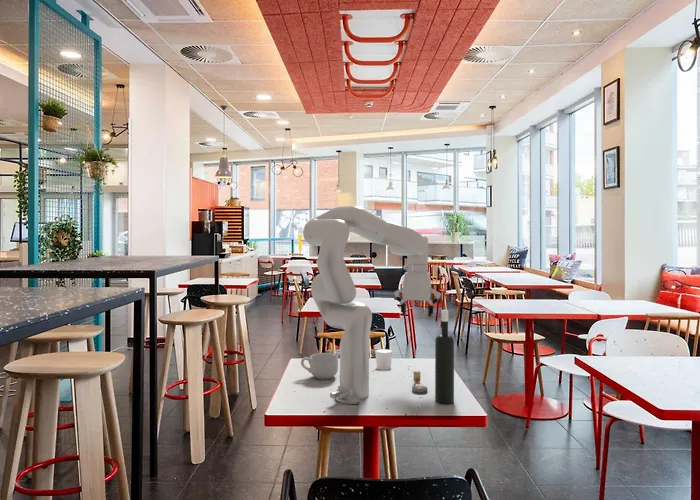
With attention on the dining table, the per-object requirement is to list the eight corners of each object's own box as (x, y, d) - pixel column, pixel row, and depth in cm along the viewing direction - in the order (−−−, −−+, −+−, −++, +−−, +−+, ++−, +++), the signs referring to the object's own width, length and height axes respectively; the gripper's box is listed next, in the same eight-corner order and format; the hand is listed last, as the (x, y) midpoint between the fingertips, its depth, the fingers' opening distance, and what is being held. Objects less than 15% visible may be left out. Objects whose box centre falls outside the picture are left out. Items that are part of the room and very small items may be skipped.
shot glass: (392, 366, 206) (392, 348, 206) (392, 370, 199) (392, 352, 199) (375, 365, 207) (375, 348, 206) (374, 370, 200) (374, 352, 200)
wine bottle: (454, 409, 155) (454, 311, 154) (435, 408, 156) (435, 311, 155) (453, 403, 161) (453, 308, 160) (435, 402, 162) (435, 308, 161)
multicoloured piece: (428, 393, 166) (428, 381, 166) (412, 393, 166) (412, 381, 166) (423, 382, 179) (423, 371, 179) (409, 382, 179) (409, 370, 179)
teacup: (341, 374, 194) (340, 353, 194) (335, 382, 184) (335, 360, 183) (305, 372, 197) (305, 352, 196) (298, 380, 186) (297, 358, 186)
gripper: (392, 268, 185) (391, 315, 186) (439, 270, 180) (439, 318, 181) (396, 267, 193) (396, 312, 193) (442, 269, 187) (441, 315, 188)
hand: (416, 315), depth 187 cm, fingers open, 9 cm apart
